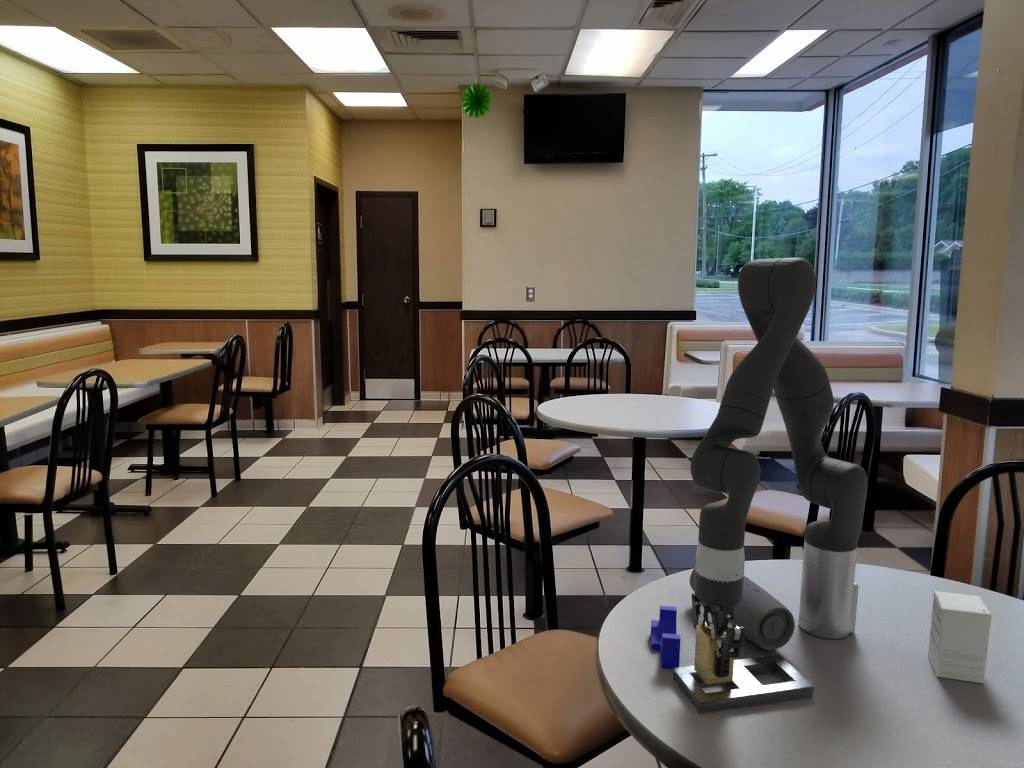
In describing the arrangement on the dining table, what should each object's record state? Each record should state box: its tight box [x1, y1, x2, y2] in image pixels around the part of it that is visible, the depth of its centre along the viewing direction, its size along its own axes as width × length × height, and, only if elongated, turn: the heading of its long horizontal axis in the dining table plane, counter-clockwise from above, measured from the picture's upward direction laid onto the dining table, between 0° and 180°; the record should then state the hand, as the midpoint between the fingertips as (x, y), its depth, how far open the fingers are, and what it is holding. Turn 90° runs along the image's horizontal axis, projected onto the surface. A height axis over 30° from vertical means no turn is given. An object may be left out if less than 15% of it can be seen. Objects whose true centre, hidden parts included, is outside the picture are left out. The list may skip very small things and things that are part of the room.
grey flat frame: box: [671, 654, 815, 715], centre depth 125 cm, size 20×10×2 cm, turn 103°
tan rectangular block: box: [694, 624, 735, 685], centre depth 122 cm, size 4×4×8 cm
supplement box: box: [927, 590, 992, 684], centre depth 129 cm, size 7×7×13 cm
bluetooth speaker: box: [689, 566, 796, 651], centre depth 144 cm, size 23×9×10 cm, turn 17°
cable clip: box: [650, 605, 681, 671], centre depth 136 cm, size 12×4×6 cm, turn 171°
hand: (713, 667), depth 123 cm, fingers closed on tan rectangular block, 4 cm apart
